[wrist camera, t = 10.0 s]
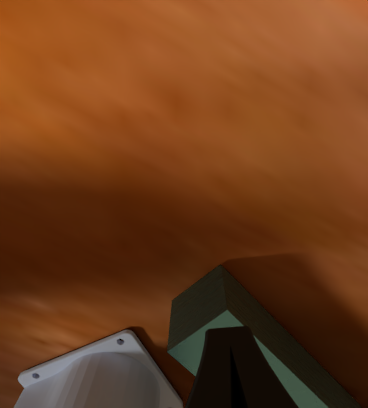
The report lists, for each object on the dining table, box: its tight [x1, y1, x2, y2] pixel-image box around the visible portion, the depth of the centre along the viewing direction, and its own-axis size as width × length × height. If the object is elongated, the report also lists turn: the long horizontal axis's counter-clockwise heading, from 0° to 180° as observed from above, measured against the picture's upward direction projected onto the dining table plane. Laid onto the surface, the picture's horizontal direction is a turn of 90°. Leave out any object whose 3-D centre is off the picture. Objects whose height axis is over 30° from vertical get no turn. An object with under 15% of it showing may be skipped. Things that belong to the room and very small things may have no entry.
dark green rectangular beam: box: [167, 264, 361, 408], centre depth 20 cm, size 16×4×5 cm, turn 42°
